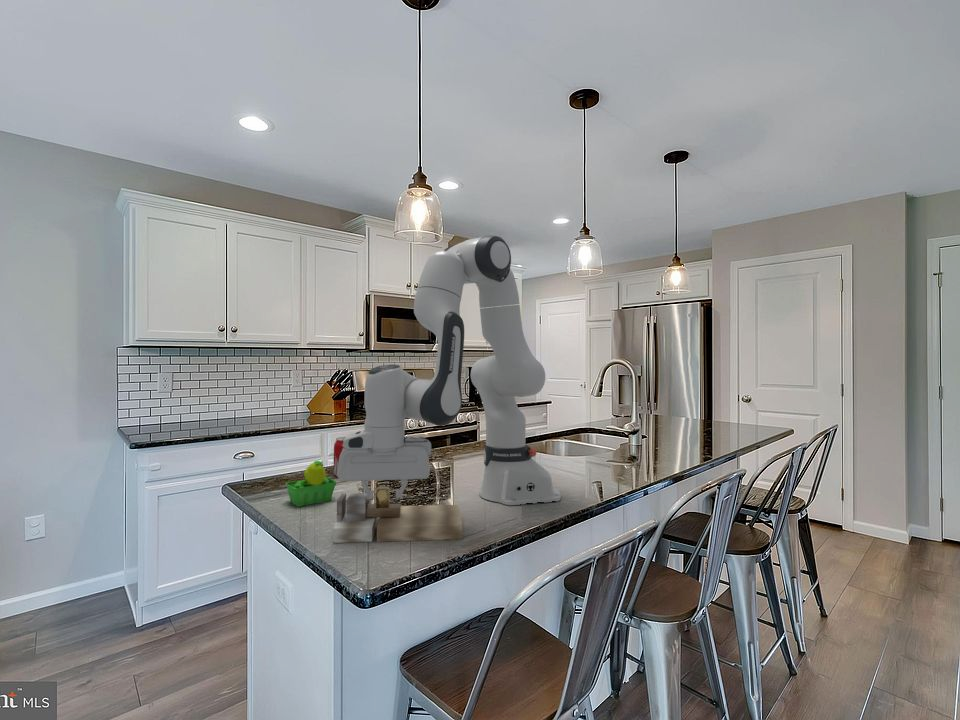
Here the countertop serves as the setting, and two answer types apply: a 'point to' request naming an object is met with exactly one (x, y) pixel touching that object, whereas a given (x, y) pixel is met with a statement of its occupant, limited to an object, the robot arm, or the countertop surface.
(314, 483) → the fruit basket
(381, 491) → the bolt
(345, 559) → the countertop surface
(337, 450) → the soda can
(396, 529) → the door mockup
